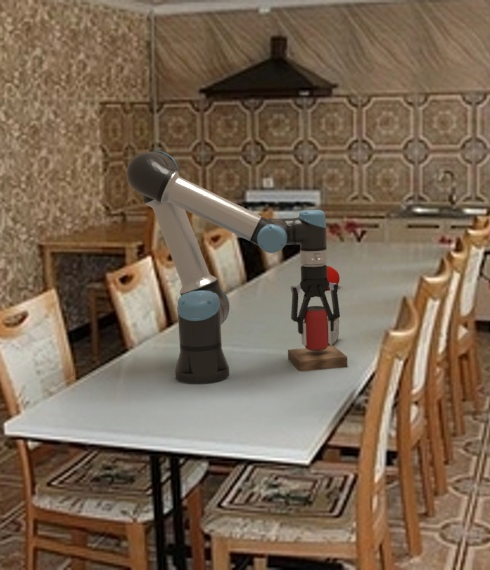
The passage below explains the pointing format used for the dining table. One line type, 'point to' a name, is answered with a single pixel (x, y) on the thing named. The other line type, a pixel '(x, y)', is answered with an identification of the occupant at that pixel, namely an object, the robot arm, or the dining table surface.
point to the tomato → (332, 275)
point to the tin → (334, 332)
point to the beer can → (316, 328)
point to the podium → (317, 359)
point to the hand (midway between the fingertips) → (316, 343)
